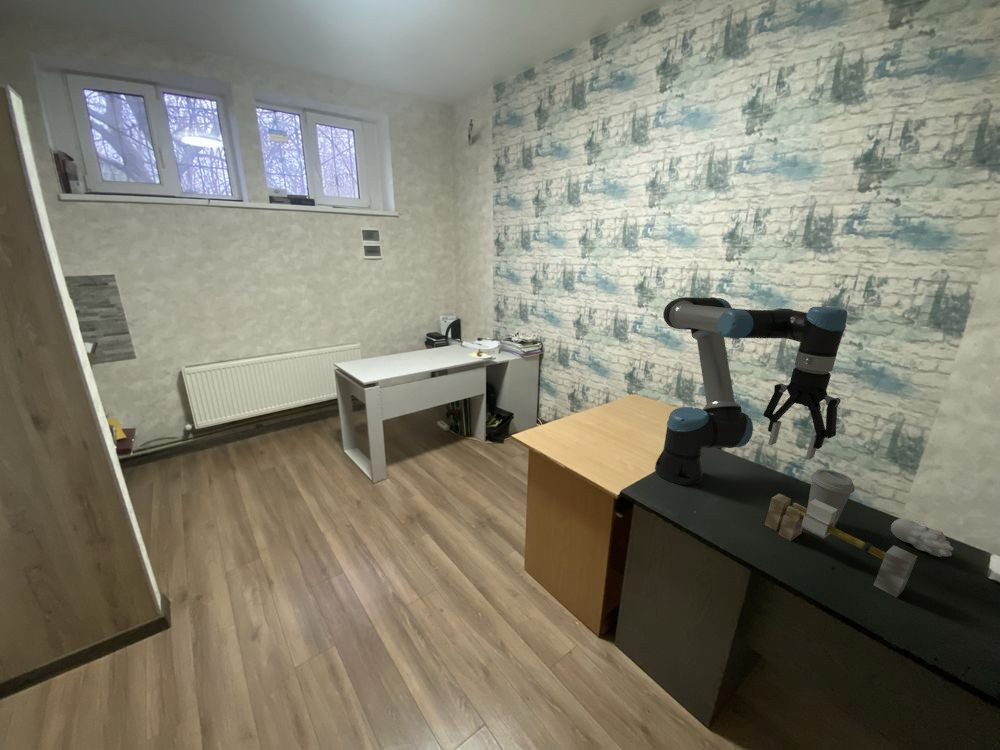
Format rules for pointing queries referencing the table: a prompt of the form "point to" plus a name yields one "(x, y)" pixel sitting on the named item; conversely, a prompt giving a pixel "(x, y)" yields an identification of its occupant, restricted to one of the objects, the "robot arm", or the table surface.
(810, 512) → the grey stepped block
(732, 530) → the table surface
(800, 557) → the table surface
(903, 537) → the figurine
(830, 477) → the coffee cup
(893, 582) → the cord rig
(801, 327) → the robot arm
